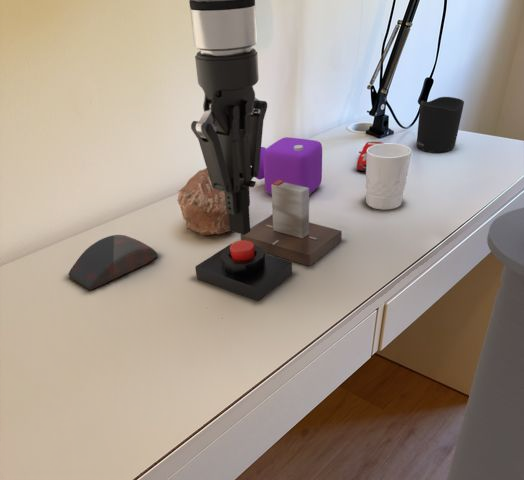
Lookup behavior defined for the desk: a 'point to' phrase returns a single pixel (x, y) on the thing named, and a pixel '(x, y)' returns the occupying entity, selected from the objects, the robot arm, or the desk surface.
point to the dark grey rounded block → (110, 260)
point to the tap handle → (290, 209)
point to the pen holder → (439, 124)
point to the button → (242, 250)
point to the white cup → (386, 175)
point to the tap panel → (294, 241)
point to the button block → (245, 272)
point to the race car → (364, 156)
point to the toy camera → (292, 163)
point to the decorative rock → (203, 205)
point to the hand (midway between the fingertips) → (240, 230)
